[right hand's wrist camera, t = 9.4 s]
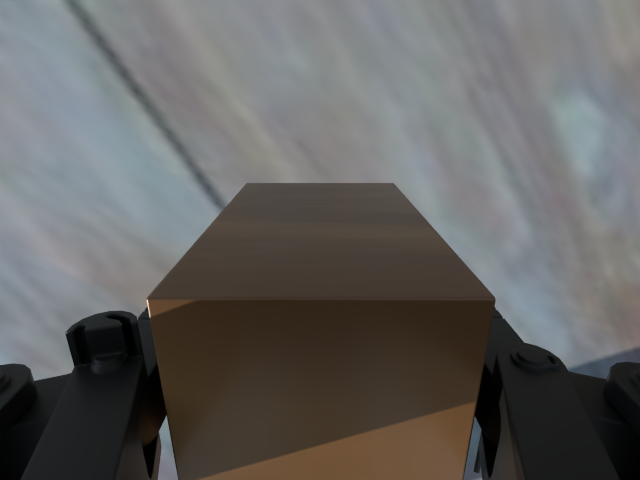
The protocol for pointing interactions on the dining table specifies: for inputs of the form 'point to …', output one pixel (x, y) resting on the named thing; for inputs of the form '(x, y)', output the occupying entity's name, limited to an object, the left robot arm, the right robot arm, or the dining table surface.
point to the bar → (320, 340)
